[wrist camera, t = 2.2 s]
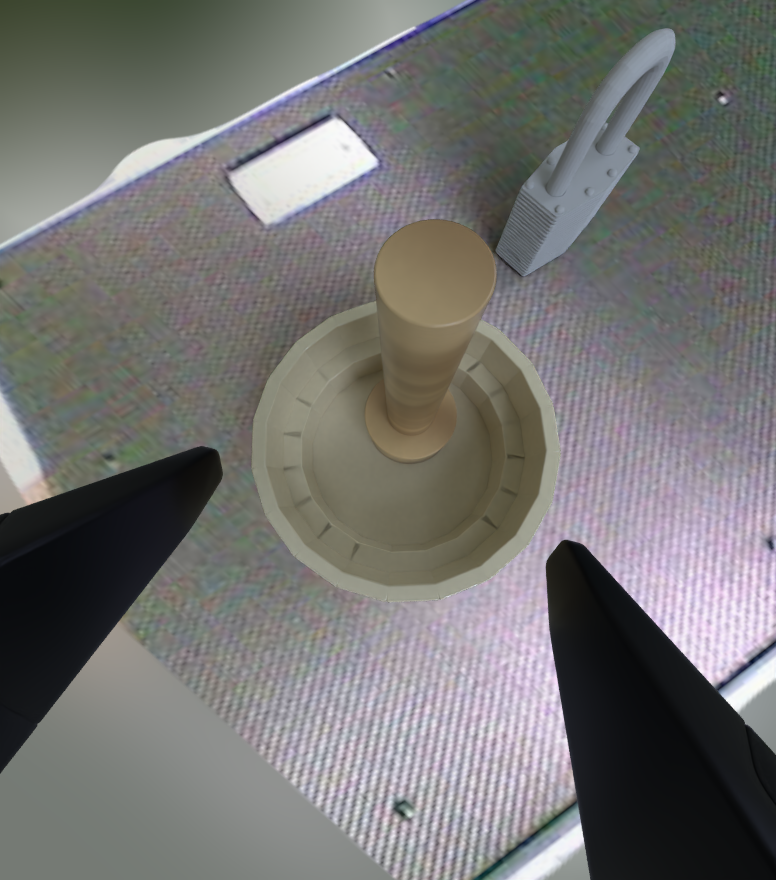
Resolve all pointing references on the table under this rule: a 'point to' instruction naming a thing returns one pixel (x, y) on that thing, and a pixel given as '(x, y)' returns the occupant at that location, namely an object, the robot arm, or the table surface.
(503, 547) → the bowl
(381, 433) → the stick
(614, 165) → the padlock
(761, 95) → the table surface
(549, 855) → the table surface
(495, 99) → the table surface
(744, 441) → the table surface
